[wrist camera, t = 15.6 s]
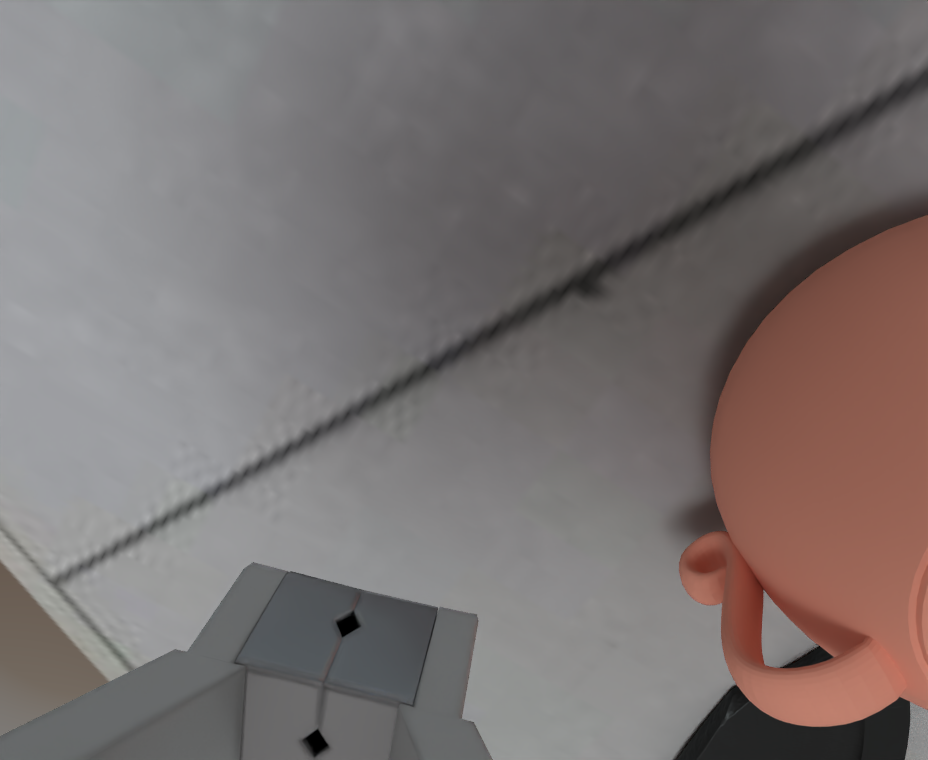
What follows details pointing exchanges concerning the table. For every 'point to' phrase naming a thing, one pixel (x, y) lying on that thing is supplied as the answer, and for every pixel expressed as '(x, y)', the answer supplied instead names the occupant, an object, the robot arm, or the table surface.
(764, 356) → the teapot
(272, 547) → the table surface
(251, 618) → the robot arm
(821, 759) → the dark sector wedge
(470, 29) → the table surface
